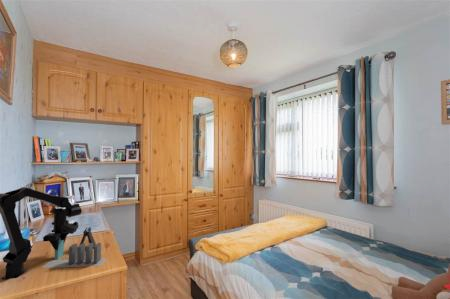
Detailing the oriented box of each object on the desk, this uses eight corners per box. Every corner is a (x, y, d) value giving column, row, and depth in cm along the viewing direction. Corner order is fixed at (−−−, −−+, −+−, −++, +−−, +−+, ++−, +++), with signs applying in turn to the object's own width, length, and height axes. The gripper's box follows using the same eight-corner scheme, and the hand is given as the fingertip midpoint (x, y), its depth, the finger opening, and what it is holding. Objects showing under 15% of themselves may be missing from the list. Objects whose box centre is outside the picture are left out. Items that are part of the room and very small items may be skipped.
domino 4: (88, 264, 119) (88, 246, 119) (85, 264, 119) (85, 246, 119) (92, 259, 124) (93, 243, 124) (89, 259, 124) (90, 243, 124)
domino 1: (57, 260, 124) (58, 243, 124) (54, 260, 123) (55, 243, 123) (63, 255, 128) (63, 239, 129) (60, 256, 128) (60, 239, 128)
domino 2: (71, 264, 118) (72, 247, 118) (68, 265, 118) (69, 247, 118) (76, 260, 123) (77, 243, 123) (73, 260, 123) (74, 243, 123)
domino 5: (96, 263, 119) (97, 246, 120) (93, 264, 119) (93, 246, 119) (100, 259, 124) (101, 242, 124) (97, 259, 124) (97, 242, 124)
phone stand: (76, 251, 135) (77, 230, 135) (79, 247, 140) (80, 227, 140) (94, 249, 138) (94, 229, 138) (96, 245, 143) (96, 226, 143)
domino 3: (80, 264, 118) (80, 247, 119) (76, 264, 118) (77, 247, 118) (84, 260, 123) (85, 243, 123) (81, 260, 123) (82, 243, 123)
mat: (100, 266, 118) (100, 265, 118) (40, 268, 114) (40, 267, 114) (106, 258, 126) (106, 258, 126) (51, 260, 123) (51, 259, 123)
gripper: (66, 224, 118) (65, 255, 118) (84, 214, 136) (83, 241, 136) (42, 225, 117) (41, 255, 116) (63, 215, 135) (62, 241, 135)
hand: (59, 248), depth 126 cm, fingers closed on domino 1, 5 cm apart
